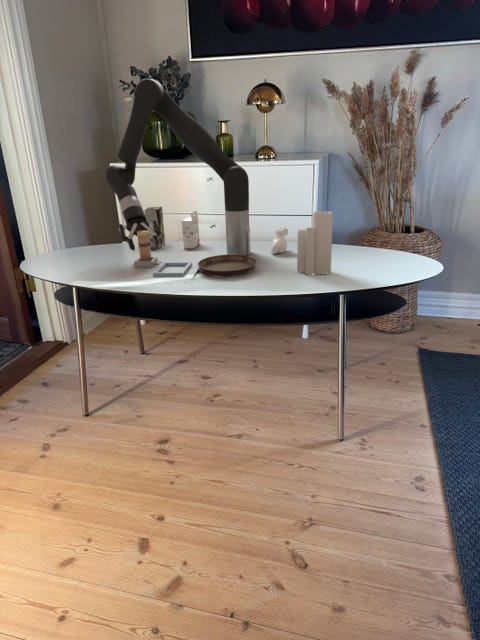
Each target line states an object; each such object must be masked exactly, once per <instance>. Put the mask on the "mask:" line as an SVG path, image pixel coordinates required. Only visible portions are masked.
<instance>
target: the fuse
mask: <svg viewBox="0 0 480 640" xmlns="http://www.w3.org/2000/svg"><path fill="white" fill-rule="evenodd" d="M136 237H137V241H138V243H137V244H138V253H139V257H140V261H151V260H152V259H151V257H152V251H151V248H150V240H149V231H147V230H143V231H137V236H136Z"/></svg>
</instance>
